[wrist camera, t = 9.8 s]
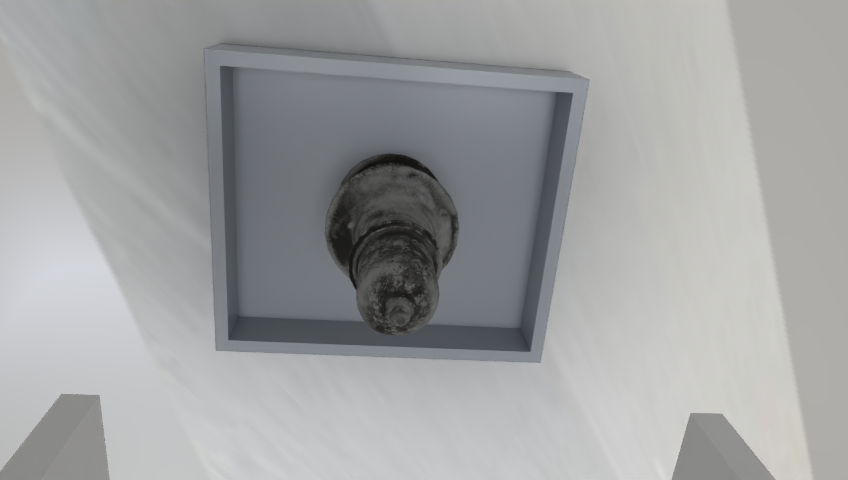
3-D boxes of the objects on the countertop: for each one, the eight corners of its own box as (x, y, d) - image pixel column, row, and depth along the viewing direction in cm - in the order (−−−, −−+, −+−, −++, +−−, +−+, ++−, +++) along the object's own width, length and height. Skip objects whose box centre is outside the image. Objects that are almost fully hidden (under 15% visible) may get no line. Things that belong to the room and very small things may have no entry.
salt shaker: (474, 204, 31) (531, 317, 20) (392, 284, 32) (401, 433, 21) (388, 121, 29) (398, 194, 18) (304, 208, 31) (264, 328, 19)
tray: (221, 43, 28) (204, 49, 25) (569, 71, 30) (589, 79, 27) (229, 320, 33) (215, 350, 30) (527, 333, 35) (540, 362, 32)
